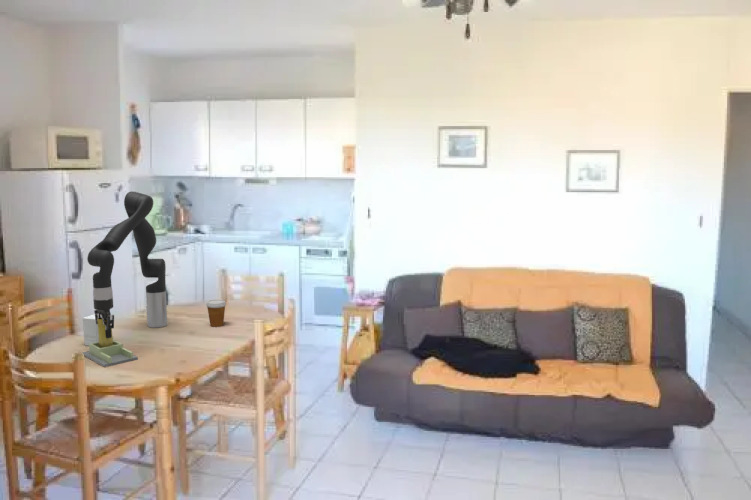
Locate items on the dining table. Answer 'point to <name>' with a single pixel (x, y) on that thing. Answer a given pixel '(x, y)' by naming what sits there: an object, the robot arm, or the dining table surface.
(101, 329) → the vase
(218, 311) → the disposable coffee cup
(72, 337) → the dining table surface
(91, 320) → the supplement box
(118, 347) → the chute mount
